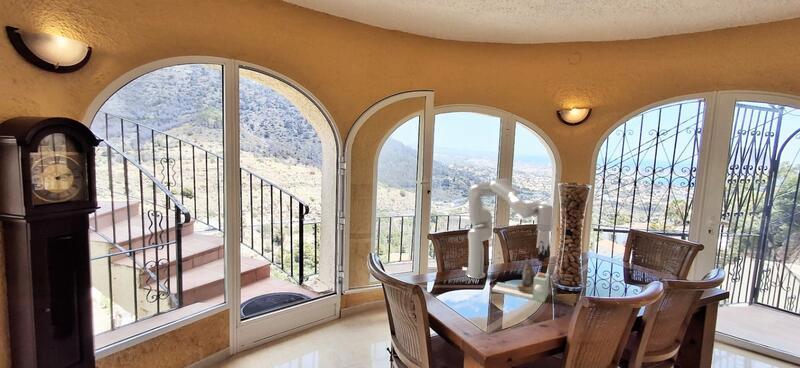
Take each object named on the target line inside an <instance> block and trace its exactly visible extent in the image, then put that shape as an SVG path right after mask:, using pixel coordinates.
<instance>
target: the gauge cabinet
mask: <svg viewBox="0 0 800 368" xmlns="http://www.w3.org/2000/svg"><path fill="white" fill-rule="evenodd" d="M539 273H540V272H537V273H536V274H535V277H534V282H533V301H536V302H542V303H545V301H546V300H547V297H548V295H549V287H550V285H549V283H550V282H549V281H550V274H549V273H545V278H541V277H538V275H539Z"/></svg>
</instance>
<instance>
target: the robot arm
mask: <svg viewBox="0 0 800 368" xmlns="http://www.w3.org/2000/svg"><path fill="white" fill-rule="evenodd" d="M518 193H519V192H518V190H517V189H516V188H514V187H512V183H511V181H510V180H509V179H507V178H495V179H493V180H491V181H490V182H481V183H476V184H473V185H471V187H469V190H468V193H467V196H468V213H469V214H468V215H469V222H470V224H471V225H473V226H475V227H472V228H470V229H469V230H468V231H467V240H468V261H467V262H468V264H467V266H462V268H461V269H462V271H464V272H465V276H466V275H467V276H468V278H469V277H471V278H470V279H474V278H475V280H477V279H479V280H480V279H484V278H486V273H485V272H484V258H485V256H484V255H485V247H484V244H483V242H485V241H488V240H490V239H491V238H492V236H493V216H492V212H491V211H490V210H489V209H487V208H484V205H483V201H482V199H481V198H482V197H483V198H484V197H492V196H495V195H496V196H498V197H500V198H502V199H503V200H504V201H506V202H507V203H508V205H509V208H511V209H512V211H514V212H515V213H516V214H518V215H519V216H521V217H523V218H531V217H537V219H536V231H537V237H536V249H538V254H537V255H538V257H537V261H538V262H542V263H545V260H546V259H547V258H548V247H549V245H550V243H549V241H550V232H551V231H552V226H553V209H554V208H553V206H552V205H551V204H542V203H539V202H528V203H525V202H524V201H522V200H521V199H519V198H518V195H519V194H518ZM467 276H466V277H467Z"/></svg>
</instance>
